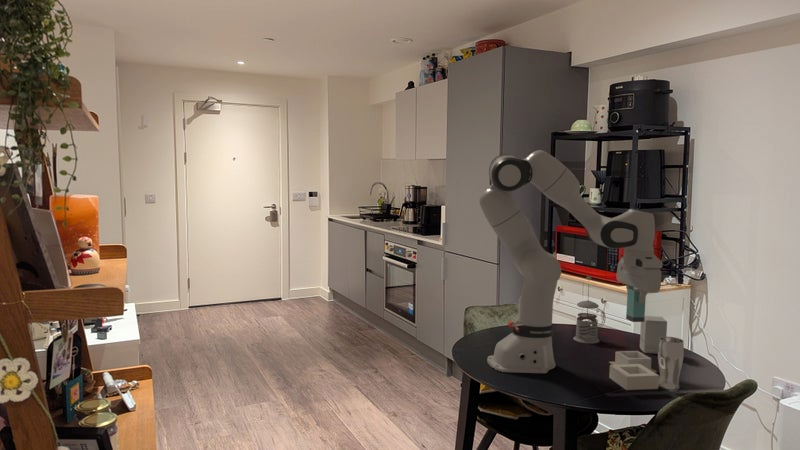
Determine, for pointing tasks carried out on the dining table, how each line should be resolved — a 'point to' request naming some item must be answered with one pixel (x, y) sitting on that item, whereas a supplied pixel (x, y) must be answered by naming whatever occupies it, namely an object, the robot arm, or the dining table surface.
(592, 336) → the french press
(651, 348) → the supplement box
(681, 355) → the beer glass
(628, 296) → the plug
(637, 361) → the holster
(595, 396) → the dining table surface
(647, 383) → the port block
